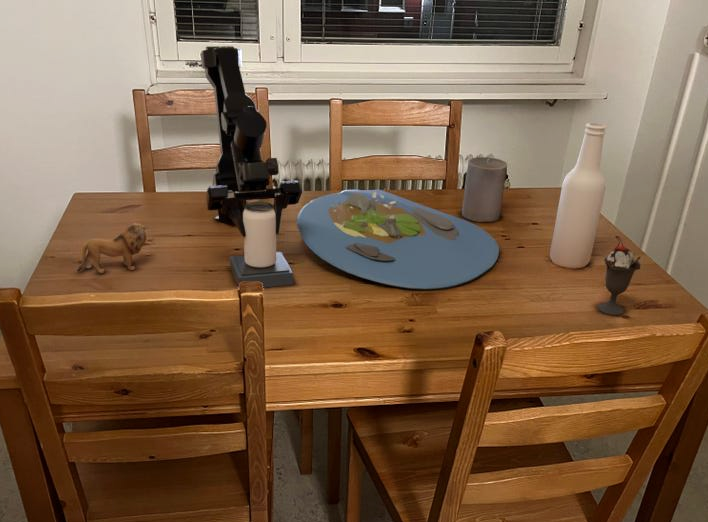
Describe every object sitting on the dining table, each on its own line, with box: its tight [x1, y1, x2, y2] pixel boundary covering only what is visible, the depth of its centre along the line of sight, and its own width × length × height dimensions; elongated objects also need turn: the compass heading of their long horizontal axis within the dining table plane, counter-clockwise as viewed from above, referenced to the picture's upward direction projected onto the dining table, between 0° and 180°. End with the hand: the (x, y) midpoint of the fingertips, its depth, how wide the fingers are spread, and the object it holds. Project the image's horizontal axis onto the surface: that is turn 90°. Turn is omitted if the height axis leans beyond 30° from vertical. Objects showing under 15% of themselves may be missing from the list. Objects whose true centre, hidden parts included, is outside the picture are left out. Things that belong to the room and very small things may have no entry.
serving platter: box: [296, 187, 500, 291], centre depth 165 cm, size 45×43×12 cm
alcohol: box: [549, 121, 607, 269], centre depth 157 cm, size 9×9×30 cm
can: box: [243, 200, 277, 268], centre depth 148 cm, size 6×6×12 cm
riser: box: [229, 251, 294, 289], centre depth 152 cm, size 11×11×3 cm
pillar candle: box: [461, 156, 508, 223], centre depth 184 cm, size 10×10×15 cm
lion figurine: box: [76, 222, 147, 274], centre depth 151 cm, size 15×5×9 cm, turn 116°
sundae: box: [597, 235, 642, 316], centre depth 141 cm, size 7×7×15 cm
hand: (260, 234), depth 147 cm, fingers closed on can, 6 cm apart
